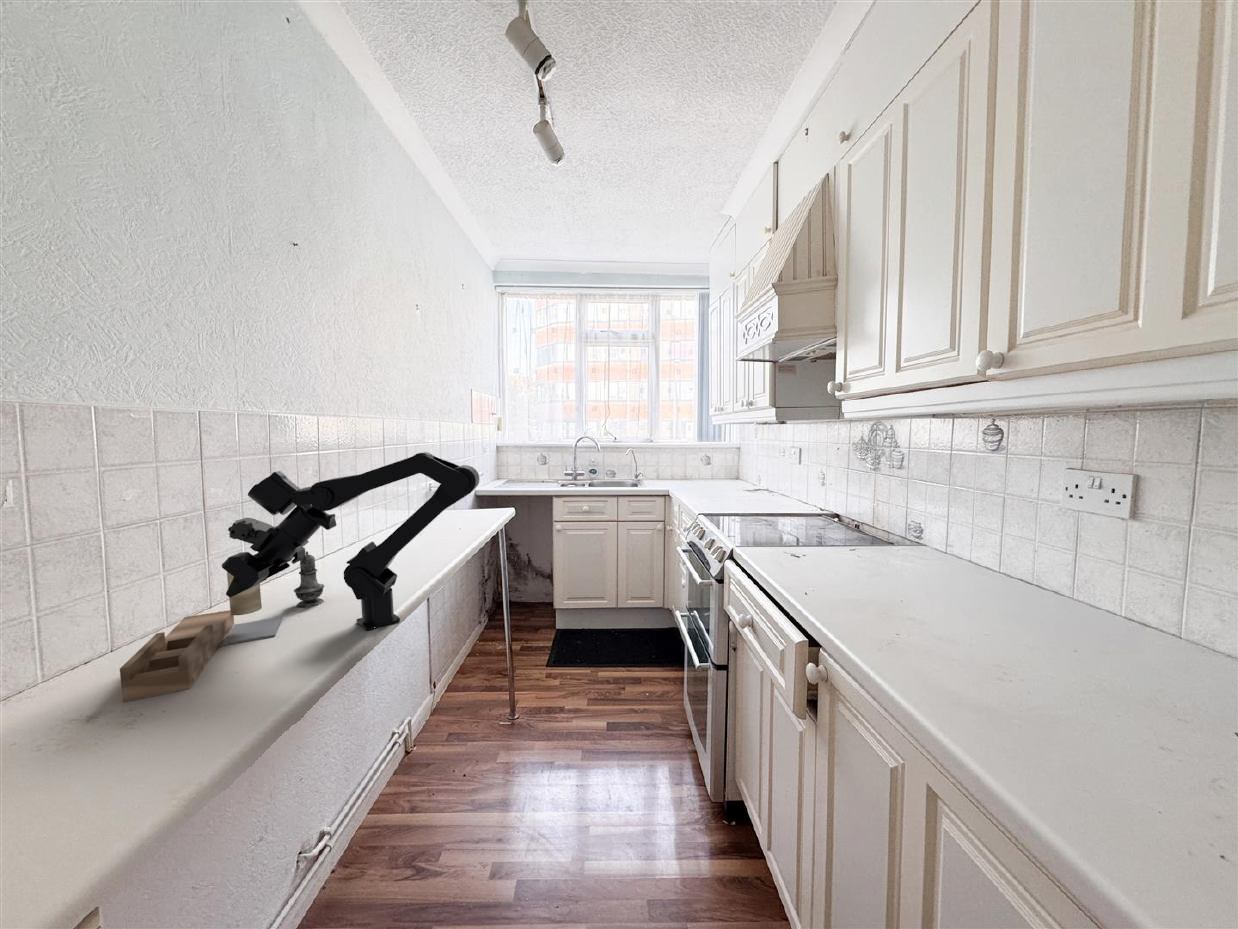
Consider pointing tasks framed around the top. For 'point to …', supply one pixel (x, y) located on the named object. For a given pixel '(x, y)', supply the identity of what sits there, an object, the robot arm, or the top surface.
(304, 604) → the salt shaker
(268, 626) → the mat
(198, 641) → the wooden track
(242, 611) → the birch cylinder
